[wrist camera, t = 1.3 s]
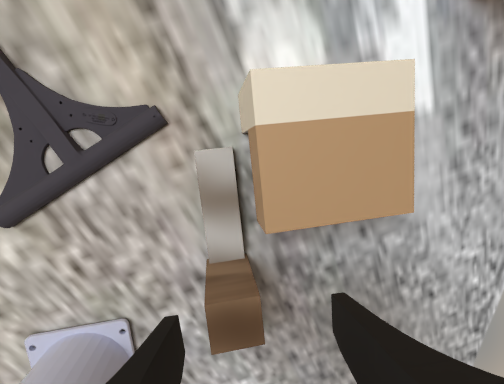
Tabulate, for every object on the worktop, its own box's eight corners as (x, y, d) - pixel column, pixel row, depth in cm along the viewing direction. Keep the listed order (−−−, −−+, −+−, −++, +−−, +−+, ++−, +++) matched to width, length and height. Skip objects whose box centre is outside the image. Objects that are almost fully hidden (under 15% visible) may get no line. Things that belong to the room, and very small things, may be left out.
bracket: (39, -60, 18) (8, -96, 16) (169, 124, 22) (162, 120, 19) (-140, 53, 18) (-203, 36, 15) (19, 224, 21) (-10, 235, 18)
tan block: (357, 194, 24) (413, 212, 17) (249, 208, 23) (265, 234, 16) (353, 86, 23) (414, 58, 16) (238, 95, 21) (250, 69, 14)
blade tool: (250, 289, 24) (265, 344, 17) (211, 295, 24) (211, 355, 17) (234, 146, 22) (244, 145, 15) (191, 151, 21) (182, 151, 15)
